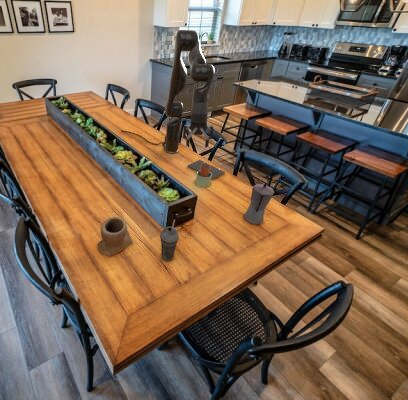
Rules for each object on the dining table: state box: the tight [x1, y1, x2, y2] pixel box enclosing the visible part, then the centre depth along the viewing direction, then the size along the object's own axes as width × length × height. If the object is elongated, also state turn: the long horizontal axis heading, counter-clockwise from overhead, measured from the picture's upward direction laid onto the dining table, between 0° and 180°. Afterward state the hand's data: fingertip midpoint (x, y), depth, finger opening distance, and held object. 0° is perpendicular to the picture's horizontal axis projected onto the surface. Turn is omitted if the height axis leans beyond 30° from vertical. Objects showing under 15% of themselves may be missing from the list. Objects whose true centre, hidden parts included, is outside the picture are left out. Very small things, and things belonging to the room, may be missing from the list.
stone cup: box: [96, 216, 133, 257], centre depth 108 cm, size 15×12×15 cm
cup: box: [194, 170, 212, 188], centre depth 154 cm, size 9×9×6 cm
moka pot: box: [243, 183, 275, 225], centre depth 126 cm, size 10×15×20 cm, turn 161°
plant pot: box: [200, 162, 212, 177], centre depth 152 cm, size 6×6×11 cm
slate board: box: [187, 159, 226, 181], centre depth 167 cm, size 20×12×2 cm, turn 44°
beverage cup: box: [159, 219, 180, 262], centre depth 104 cm, size 7×7×20 cm
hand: (197, 147), depth 130 cm, fingers open, 8 cm apart
